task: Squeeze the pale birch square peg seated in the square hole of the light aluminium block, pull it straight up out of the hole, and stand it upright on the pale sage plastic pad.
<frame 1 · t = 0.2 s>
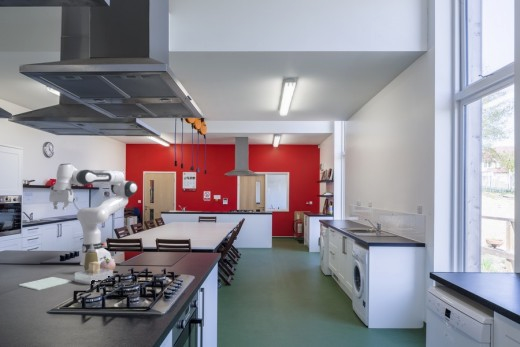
hand: (59, 209, 215), 39 cm above the worktop, tool pointing down, fingers open, 8 cm apart
birch peg: (94, 271, 192), in the aluminium socket block
sage pad: (45, 283, 185), on the worktop
squeeze bottle: (91, 272, 210), on the worktop
decorative fruit: (107, 274, 206), on the worktop
aluminium socket block: (93, 280, 192), on the worktop
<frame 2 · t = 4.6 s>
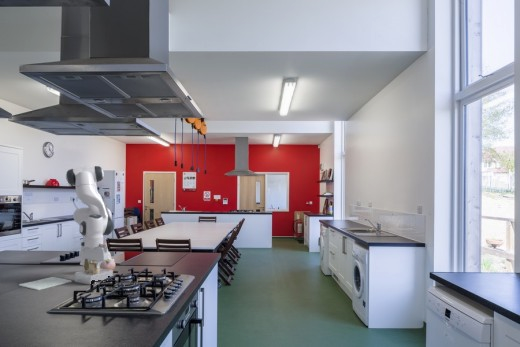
hand: (94, 267, 192), 7 cm above the worktop, tool pointing down, fingers closed on birch peg, 4 cm apart
birch peg: (94, 271, 192), in the aluminium socket block, touching gripper
everything else where it was.
when the fingers open (10 cm above the worktop, at t = 11.0 s): birch peg drops 2 cm, resting on sage pad.
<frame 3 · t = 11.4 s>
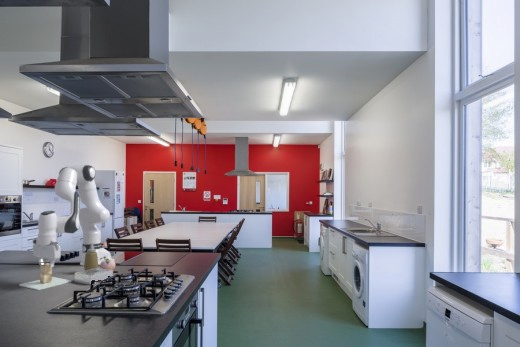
hand: (46, 266, 185), 10 cm above the worktop, tool pointing down, fingers open, 8 cm apart
birch peg: (46, 273, 185), on the sage pad, point 6 cm above the worktop
everything else where it was.
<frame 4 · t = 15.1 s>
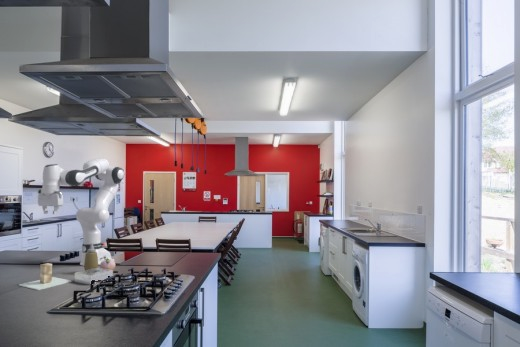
hand: (50, 213, 202), 37 cm above the worktop, tool pointing down, fingers open, 8 cm apart
nothing on the worktop moved.
at the end: birch peg inside the target area on the sage pad (0.0 cm from its centre), point 5.6 cm above the sage pad's base; birch peg tilted 0°; the gripper is holding nothing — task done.
